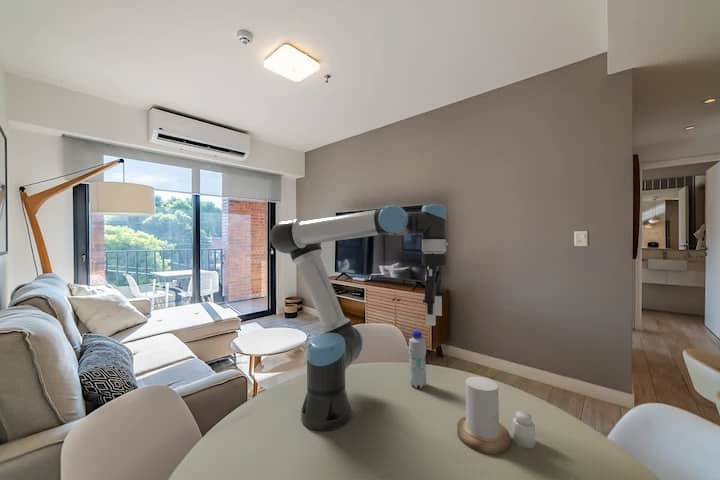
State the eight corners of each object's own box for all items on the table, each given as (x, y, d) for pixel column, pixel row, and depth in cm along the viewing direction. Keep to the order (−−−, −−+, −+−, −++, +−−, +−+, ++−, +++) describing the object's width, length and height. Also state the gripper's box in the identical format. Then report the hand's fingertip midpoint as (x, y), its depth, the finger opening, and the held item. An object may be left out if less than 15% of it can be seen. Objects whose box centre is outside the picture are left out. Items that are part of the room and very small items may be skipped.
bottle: (405, 382, 109) (404, 329, 109) (421, 380, 111) (420, 328, 111) (414, 390, 102) (413, 334, 103) (430, 388, 104) (429, 332, 105)
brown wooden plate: (455, 446, 73) (455, 437, 73) (458, 418, 85) (458, 410, 85) (512, 460, 68) (512, 450, 68) (507, 428, 80) (507, 420, 80)
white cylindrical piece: (503, 440, 72) (502, 391, 72) (469, 436, 74) (468, 389, 74) (494, 421, 80) (493, 377, 80) (464, 418, 82) (463, 375, 82)
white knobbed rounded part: (514, 445, 73) (513, 417, 74) (512, 434, 78) (511, 407, 78) (537, 450, 71) (536, 422, 72) (533, 438, 76) (532, 411, 76)
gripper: (440, 253, 78) (441, 331, 78) (450, 252, 101) (450, 313, 101) (413, 253, 81) (413, 328, 81) (429, 252, 104) (429, 311, 104)
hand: (434, 320), depth 91 cm, fingers open, 13 cm apart
